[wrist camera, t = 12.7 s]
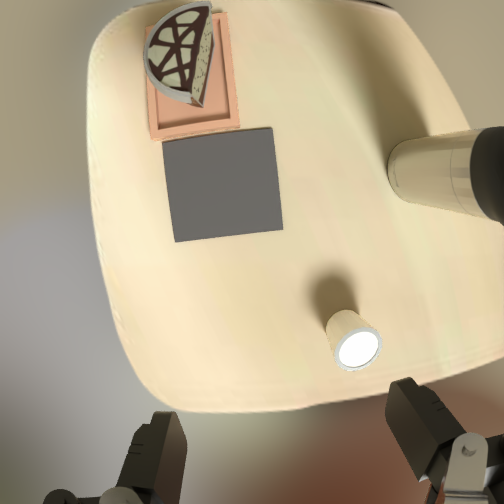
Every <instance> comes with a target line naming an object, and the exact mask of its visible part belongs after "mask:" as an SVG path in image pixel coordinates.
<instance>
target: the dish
mask: <svg viewBox="0 0 504 504" xmlns="http://www.w3.org/2000/svg"><path fill="white" fill-rule="evenodd" d="M212 22H213V30H214V39H215V49H214V54H213V59H212V64H211V69H210V74H209V80H208V85H207V91H206V97H205V103H204V108H200V107H195V106H191V105H189V104H187V103H184V102H180V101H177V100H173V99H171V98H169V97H167V96H165V95H164V94H162V93H161V92H159V91H158V90H157V89H156V88H155V87H154V86H153V84H152V83H151V82H150V80H149V78H148V76H147V95H148V111H149V124H150V136H151V140H154V141H159V140H164V139H169V138H175V137H181V136H187V135H193V134H199V133H206V132H213V131H220V130H228V129H237V128H240V121H239V113H238V104H237V95H236V87H235V78H234V69H233V61H232V52H231V44H230V35H229V27H228V18H227V12H224V13H215V14H212ZM154 26H155V25H151V26H147V27H146V40H147V37H148V35H149V33H150V32H151V30H152V28H153V27H154ZM146 74H147V73H146Z"/></svg>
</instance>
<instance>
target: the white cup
mask: <svg viewBox="0 0 504 504" xmlns="http://www.w3.org/2000/svg"><path fill="white" fill-rule="evenodd" d="M326 335H327V338H328V341H329V344H330V347H331V350H332V353H333V356H334V359H335V362H336V363H337V364H338V366H339V367H340V368H342V369H344V370H346V371H356V370H360V369H363V368H365V367H367V366H368V365H370V364H371V363H373V361H374V360H375V359H376V358H377V357H378V355H379V353H380V351H381V348H382V338H381V336H380V334H379V332H378V331H377V330H376V329H374V328H373V327H372V326H371V325H370V324H369V323H367V322H366V321H365V320H364V319H363V318H362V317H361V316H359V315H358V314H357V313H355V312H354V311H352V310H342V311H338V312H337V313H335V314H334V315H332V317H331V318H330V319H329V320H328V322H327V325H326Z"/></svg>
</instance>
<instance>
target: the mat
mask: <svg viewBox="0 0 504 504" xmlns="http://www.w3.org/2000/svg"><path fill="white" fill-rule="evenodd" d="M162 145H163V155H164V164H165V173H166V181H167V189H168V197H169V204H170V211H171V218H172V225H173V231H174V238H175V242H183V241H191V240H199V239H207V238H215V237H223V236H232V235H240V234H249V233H257V232H266V231H275V230H283V222H282V212H281V202H280V192H279V182H278V173H277V164H276V155H275V146H274V138H273V130H272V129H260V130H250V131H240V132H232V133H224V134H216V135H209V136H202V137H195V138H189V139H183V140H177V141H172V142H166V143H162Z"/></svg>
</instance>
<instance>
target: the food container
mask: <svg viewBox="0 0 504 504" xmlns="http://www.w3.org/2000/svg"><path fill="white" fill-rule="evenodd" d="M211 8H212V4H211V2H210V1H198V2H193V3H189V4H185V5H183V6H180V7H178V8H176V9H174V10H172V11H171V12H169V13H168V14H166V15H165V16H164V17H162V18H161V19H160V20H159V21H158V22H157V23H156V24H155V26H154V27H153V28H152V30H151V32H150V33H149V35H148V37H147V40H146V43H145V46H144V52H143V60H144V65H145V70H146V73H147V76H148V78H149V80H150V82H151V83H152V84H153V86H154V87H155V88H156V89H157V90H158V91H159V92H161V93H162V94H164V95H165V96H167V97H169V98H171V99H173V100H177V101H180V102H184V103H187V104H189V105H191V106H195V107H200V108H204V103H205V97H206V91H207V85H208V80H209V74H210V69H211V64H212V59H213V54H214V49H215V39H214V30H213V22H212V14H211Z"/></svg>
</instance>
